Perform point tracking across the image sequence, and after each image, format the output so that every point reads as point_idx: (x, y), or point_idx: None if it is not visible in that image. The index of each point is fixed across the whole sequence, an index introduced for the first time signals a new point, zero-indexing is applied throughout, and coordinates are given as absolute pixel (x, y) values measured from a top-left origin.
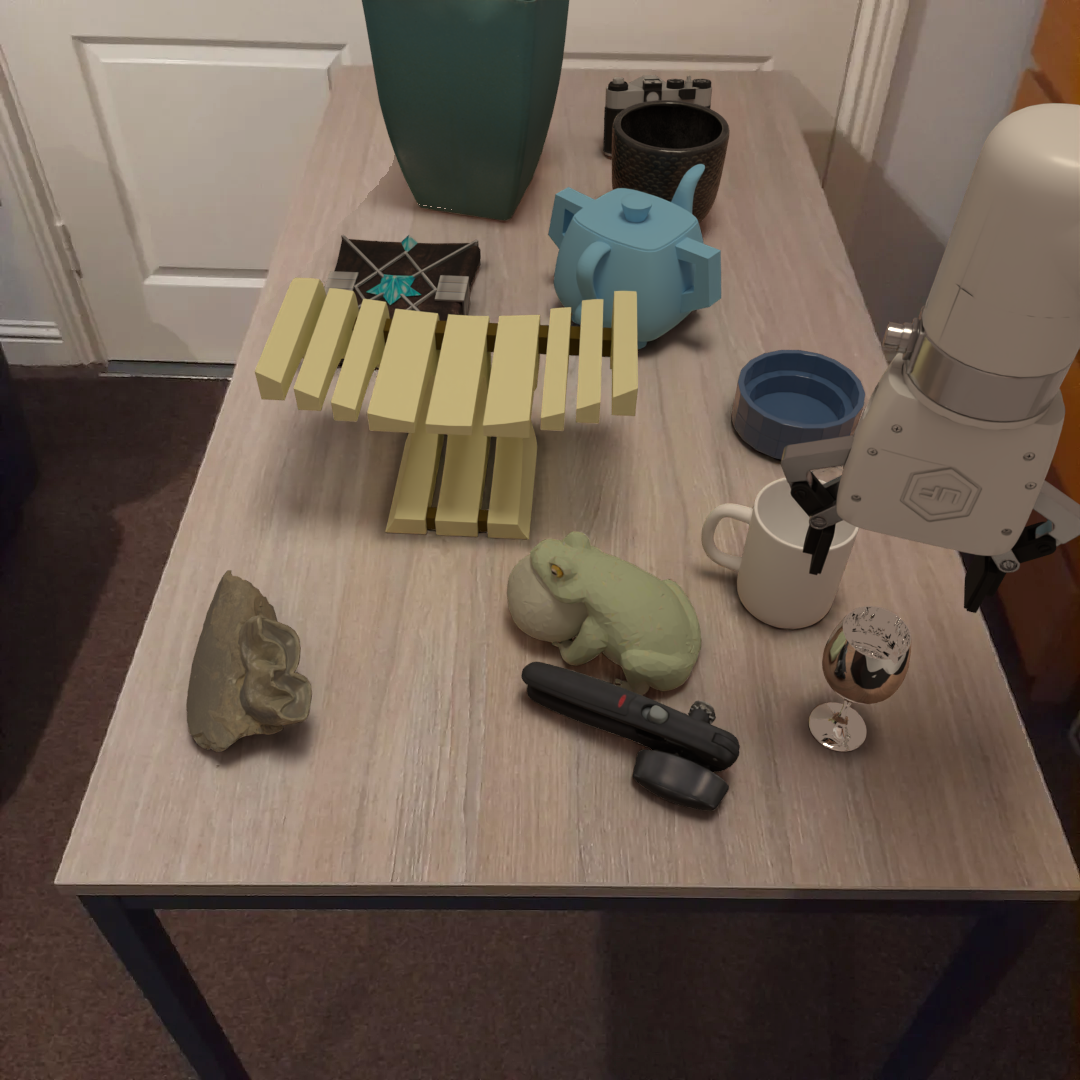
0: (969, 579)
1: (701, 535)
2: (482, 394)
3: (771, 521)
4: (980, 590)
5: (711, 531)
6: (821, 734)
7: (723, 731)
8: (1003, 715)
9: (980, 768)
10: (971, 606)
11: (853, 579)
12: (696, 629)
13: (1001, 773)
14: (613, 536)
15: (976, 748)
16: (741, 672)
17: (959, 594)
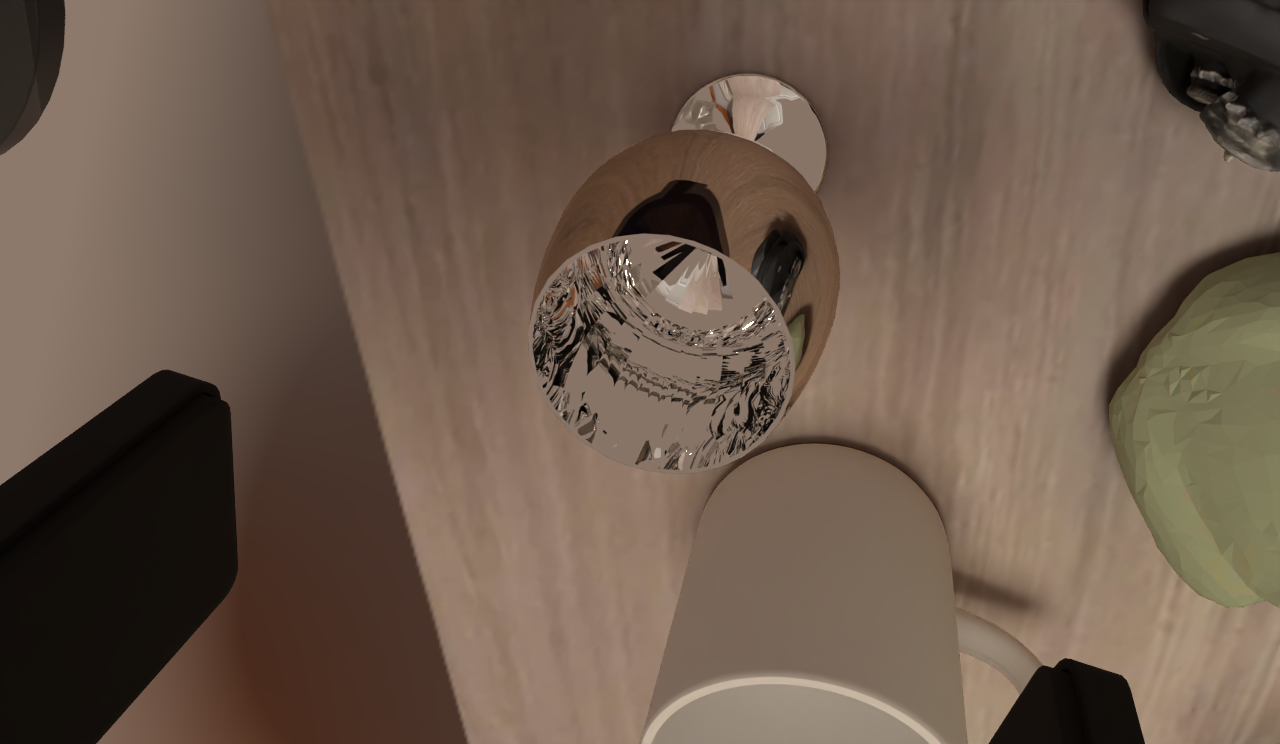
0: (183, 566)
1: None
2: None
3: (857, 740)
4: (51, 493)
5: None
6: (798, 124)
7: (1238, 25)
8: (332, 202)
9: (390, 43)
10: (167, 403)
11: (642, 560)
12: (1152, 443)
13: (341, 31)
14: (1251, 719)
15: (397, 104)
16: (987, 321)
17: (413, 510)
